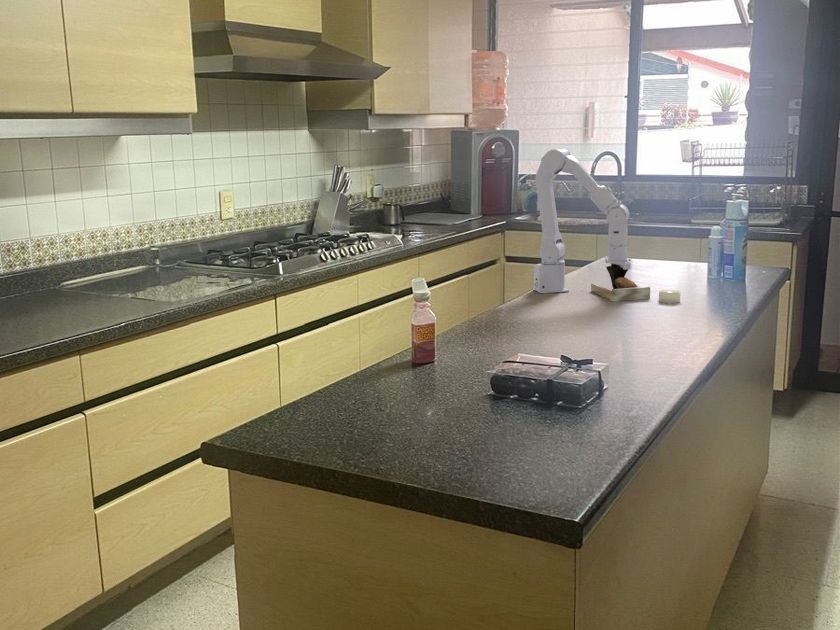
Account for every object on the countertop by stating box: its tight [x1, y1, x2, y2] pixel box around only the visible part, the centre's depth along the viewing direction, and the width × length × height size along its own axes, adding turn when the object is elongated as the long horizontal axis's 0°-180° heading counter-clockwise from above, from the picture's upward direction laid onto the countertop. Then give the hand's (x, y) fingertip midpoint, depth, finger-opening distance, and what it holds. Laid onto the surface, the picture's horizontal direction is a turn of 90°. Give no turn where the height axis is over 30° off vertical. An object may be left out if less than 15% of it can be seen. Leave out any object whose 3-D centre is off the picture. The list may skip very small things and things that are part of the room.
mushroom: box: [614, 277, 637, 289], centre depth 257 cm, size 8×8×6 cm
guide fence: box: [590, 282, 651, 302], centre depth 260 cm, size 12×17×4 cm
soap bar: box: [658, 289, 681, 304], centre depth 249 cm, size 6×6×3 cm
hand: (616, 289), depth 262 cm, fingers closed
